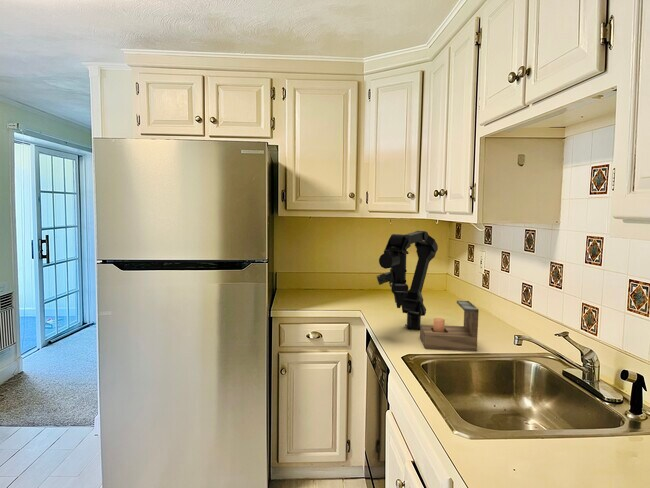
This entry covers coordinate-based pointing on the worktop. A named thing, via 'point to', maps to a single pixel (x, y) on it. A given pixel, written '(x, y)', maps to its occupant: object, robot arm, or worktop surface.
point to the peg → (438, 325)
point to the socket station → (454, 332)
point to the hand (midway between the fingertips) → (397, 305)
